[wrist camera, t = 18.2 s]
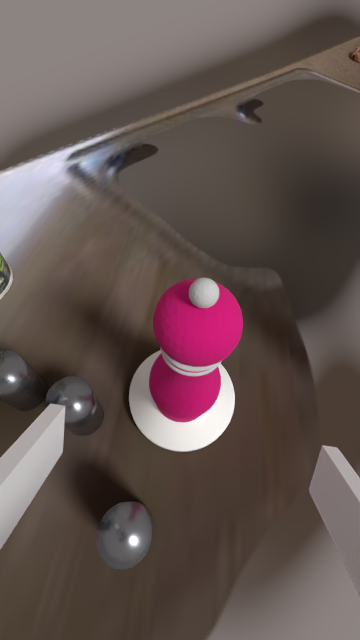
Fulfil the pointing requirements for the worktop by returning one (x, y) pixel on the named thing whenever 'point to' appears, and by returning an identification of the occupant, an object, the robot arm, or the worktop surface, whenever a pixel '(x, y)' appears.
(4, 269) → the coffee can
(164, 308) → the pepper mill
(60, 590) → the worktop surface
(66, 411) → the posts
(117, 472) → the worktop surface
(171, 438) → the disc
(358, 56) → the cookie
